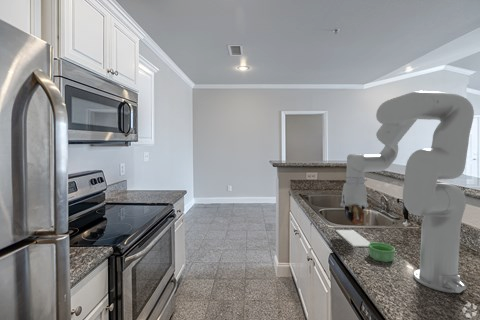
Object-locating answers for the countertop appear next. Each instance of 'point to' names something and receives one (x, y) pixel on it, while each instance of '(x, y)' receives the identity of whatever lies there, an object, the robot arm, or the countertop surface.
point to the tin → (356, 215)
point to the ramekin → (381, 251)
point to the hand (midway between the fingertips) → (353, 219)
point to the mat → (353, 238)
